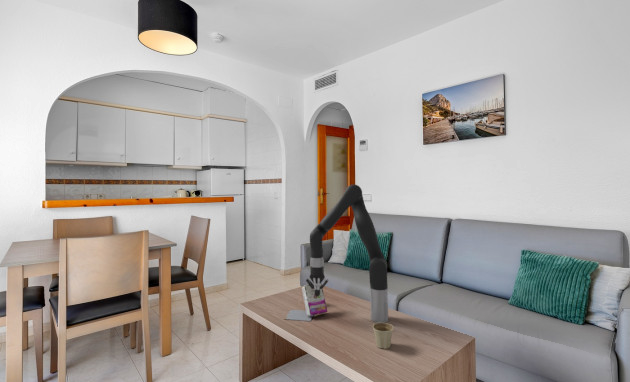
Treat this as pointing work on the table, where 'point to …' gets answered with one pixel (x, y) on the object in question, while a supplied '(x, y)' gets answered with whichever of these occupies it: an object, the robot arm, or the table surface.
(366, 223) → the robot arm
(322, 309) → the candy bar box
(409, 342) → the table surface
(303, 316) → the mat
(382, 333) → the flower pot
